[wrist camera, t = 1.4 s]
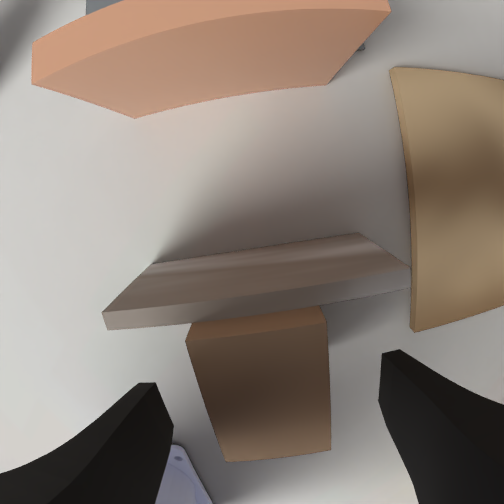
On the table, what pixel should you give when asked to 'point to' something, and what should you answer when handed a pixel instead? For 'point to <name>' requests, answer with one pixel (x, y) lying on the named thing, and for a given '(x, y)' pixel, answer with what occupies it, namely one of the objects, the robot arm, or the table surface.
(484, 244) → the oak board
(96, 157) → the table surface
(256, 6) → the tile
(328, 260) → the brown grey t-shaped block
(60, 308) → the table surface
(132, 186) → the table surface
